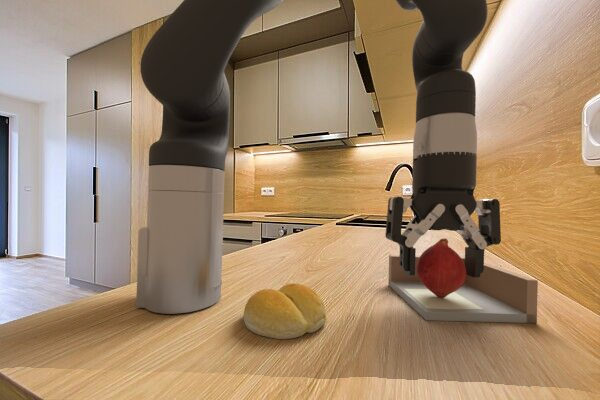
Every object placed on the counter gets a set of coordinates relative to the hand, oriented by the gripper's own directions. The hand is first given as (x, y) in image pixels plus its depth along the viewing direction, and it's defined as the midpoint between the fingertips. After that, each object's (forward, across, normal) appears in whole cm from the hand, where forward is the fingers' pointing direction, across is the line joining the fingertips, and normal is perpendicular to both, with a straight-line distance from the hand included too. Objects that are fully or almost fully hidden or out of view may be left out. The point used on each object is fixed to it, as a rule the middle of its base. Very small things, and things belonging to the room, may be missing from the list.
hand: (440, 275), depth 35 cm
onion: (+3, 0, 0) cm, 3 cm away
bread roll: (+5, +20, +5) cm, 22 cm away
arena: (+4, -2, -2) cm, 5 cm away
